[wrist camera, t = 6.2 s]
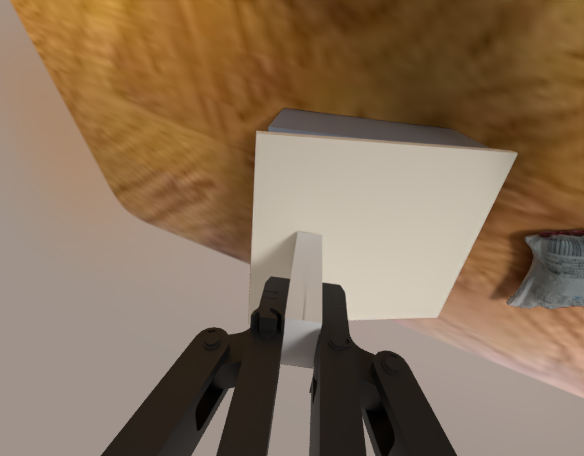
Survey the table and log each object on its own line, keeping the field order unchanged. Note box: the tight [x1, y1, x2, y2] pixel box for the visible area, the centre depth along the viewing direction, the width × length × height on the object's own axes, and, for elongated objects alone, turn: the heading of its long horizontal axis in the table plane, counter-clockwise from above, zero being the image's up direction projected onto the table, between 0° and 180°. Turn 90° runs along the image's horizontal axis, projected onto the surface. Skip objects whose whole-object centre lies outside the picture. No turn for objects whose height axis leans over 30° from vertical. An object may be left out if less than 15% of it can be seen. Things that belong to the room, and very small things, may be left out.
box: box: [268, 108, 491, 149], centre depth 24 cm, size 12×14×8 cm
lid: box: [248, 131, 518, 324], centre depth 19 cm, size 13×14×1 cm
